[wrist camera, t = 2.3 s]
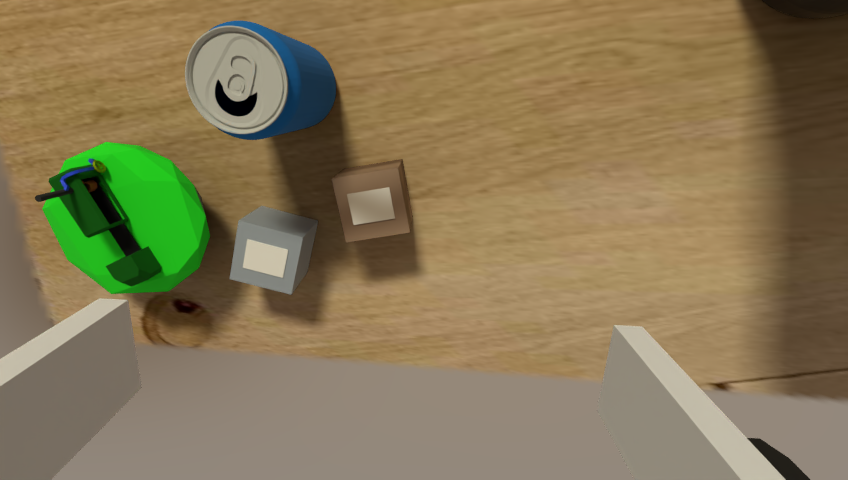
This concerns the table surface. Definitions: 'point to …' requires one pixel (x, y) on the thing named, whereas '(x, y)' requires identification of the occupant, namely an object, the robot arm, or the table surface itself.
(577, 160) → the table surface
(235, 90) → the beverage can
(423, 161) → the table surface
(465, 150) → the table surface
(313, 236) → the slate block
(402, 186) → the walnut block
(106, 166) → the green toy boat
